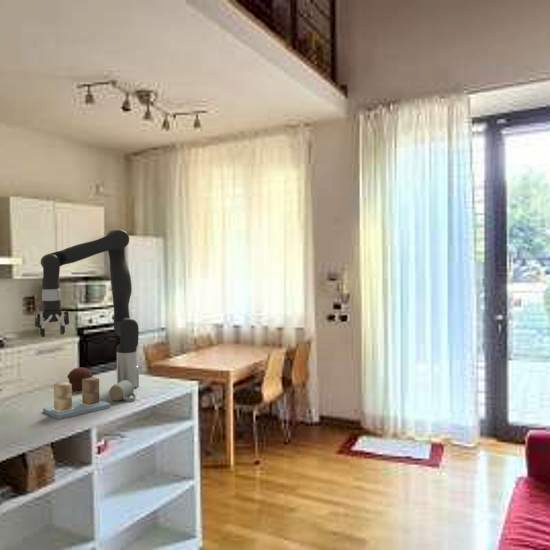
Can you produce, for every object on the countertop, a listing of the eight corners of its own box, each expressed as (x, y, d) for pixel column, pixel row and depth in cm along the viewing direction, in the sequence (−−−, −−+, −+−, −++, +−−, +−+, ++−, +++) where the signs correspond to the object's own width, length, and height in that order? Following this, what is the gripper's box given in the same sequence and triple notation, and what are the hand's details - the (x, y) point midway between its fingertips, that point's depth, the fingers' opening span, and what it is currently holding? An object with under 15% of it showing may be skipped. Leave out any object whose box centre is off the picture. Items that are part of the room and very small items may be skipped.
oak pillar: (66, 406, 218) (65, 381, 218) (72, 408, 215) (71, 384, 214) (54, 408, 214) (53, 384, 214) (59, 411, 211) (59, 386, 211)
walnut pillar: (93, 400, 227) (93, 377, 226) (99, 402, 223) (99, 379, 223) (82, 402, 223) (82, 379, 223) (88, 405, 220) (87, 381, 219)
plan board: (93, 401, 232) (93, 397, 232) (110, 407, 222) (110, 403, 222) (43, 411, 216) (42, 408, 216) (58, 419, 206) (58, 415, 206)
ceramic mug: (107, 400, 232) (108, 383, 232) (119, 396, 240) (119, 379, 240) (128, 403, 229) (128, 385, 228) (139, 398, 237) (139, 381, 236)
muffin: (97, 389, 252) (96, 368, 251) (73, 393, 244) (73, 371, 244) (86, 385, 261) (86, 364, 260) (63, 388, 253) (63, 367, 253)
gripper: (38, 301, 229) (40, 338, 230) (70, 298, 239) (72, 334, 240) (31, 300, 234) (32, 336, 235) (63, 297, 244) (64, 332, 245)
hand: (52, 335), depth 237 cm, fingers open, 8 cm apart
